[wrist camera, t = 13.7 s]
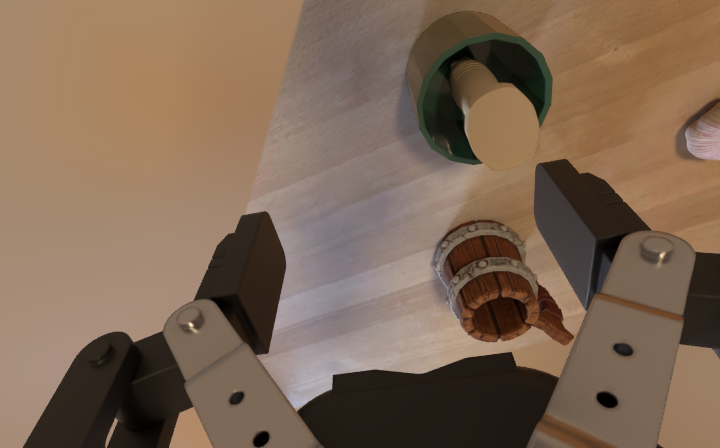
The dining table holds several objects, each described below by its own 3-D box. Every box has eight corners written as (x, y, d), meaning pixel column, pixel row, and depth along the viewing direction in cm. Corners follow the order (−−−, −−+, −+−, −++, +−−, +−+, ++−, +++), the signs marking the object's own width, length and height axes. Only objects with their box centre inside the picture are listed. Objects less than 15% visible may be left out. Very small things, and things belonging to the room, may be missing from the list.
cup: (399, 24, 41) (409, 50, 33) (515, -1, 40) (556, 19, 32) (413, 130, 47) (425, 173, 39) (515, 111, 46) (548, 151, 38)
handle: (450, 109, 45) (484, 179, 33) (428, 52, 42) (456, 107, 30) (494, 89, 44) (547, 153, 32) (475, 28, 41) (525, 75, 28)
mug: (451, 202, 53) (503, 292, 41) (542, 222, 57) (611, 308, 46) (412, 269, 59) (448, 364, 47) (497, 283, 64) (548, 372, 52)
